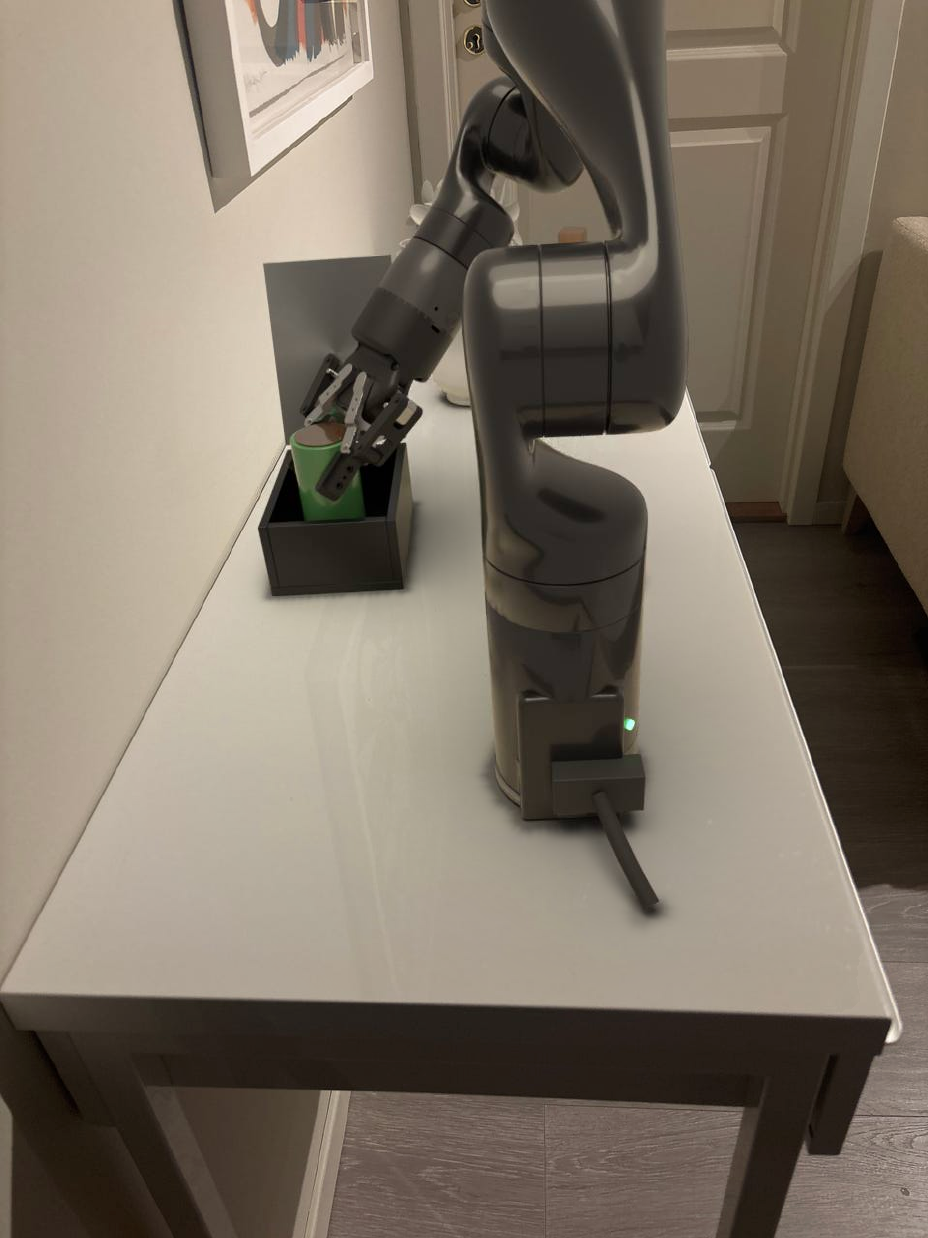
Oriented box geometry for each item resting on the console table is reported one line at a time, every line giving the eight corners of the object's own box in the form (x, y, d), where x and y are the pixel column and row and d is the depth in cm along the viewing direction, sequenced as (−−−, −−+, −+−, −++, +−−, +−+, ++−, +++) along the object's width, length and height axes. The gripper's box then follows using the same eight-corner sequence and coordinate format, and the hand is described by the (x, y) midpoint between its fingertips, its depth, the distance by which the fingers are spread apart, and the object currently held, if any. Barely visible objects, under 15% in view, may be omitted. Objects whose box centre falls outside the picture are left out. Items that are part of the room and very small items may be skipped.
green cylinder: (369, 573, 84) (350, 445, 77) (308, 576, 84) (284, 449, 78) (374, 542, 89) (357, 418, 82) (316, 545, 89) (294, 422, 82)
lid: (390, 254, 86) (391, 254, 87) (262, 262, 87) (264, 262, 87) (405, 438, 92) (406, 436, 92) (285, 445, 92) (287, 444, 93)
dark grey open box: (403, 588, 83) (395, 520, 79) (272, 595, 84) (257, 527, 80) (413, 504, 96) (406, 441, 92) (298, 511, 97) (287, 449, 93)
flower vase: (414, 431, 111) (390, 200, 97) (429, 373, 126) (410, 167, 112) (526, 427, 110) (519, 193, 96) (528, 369, 125) (521, 160, 111)
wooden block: (563, 276, 159) (563, 225, 155) (587, 277, 158) (587, 226, 154) (557, 283, 156) (557, 231, 152) (582, 284, 155) (582, 232, 151)
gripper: (345, 268, 82) (242, 436, 84) (431, 304, 72) (311, 495, 73) (405, 316, 87) (307, 474, 89) (494, 356, 77) (380, 533, 79)
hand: (309, 482), depth 81 cm, fingers closed on green cylinder, 5 cm apart
